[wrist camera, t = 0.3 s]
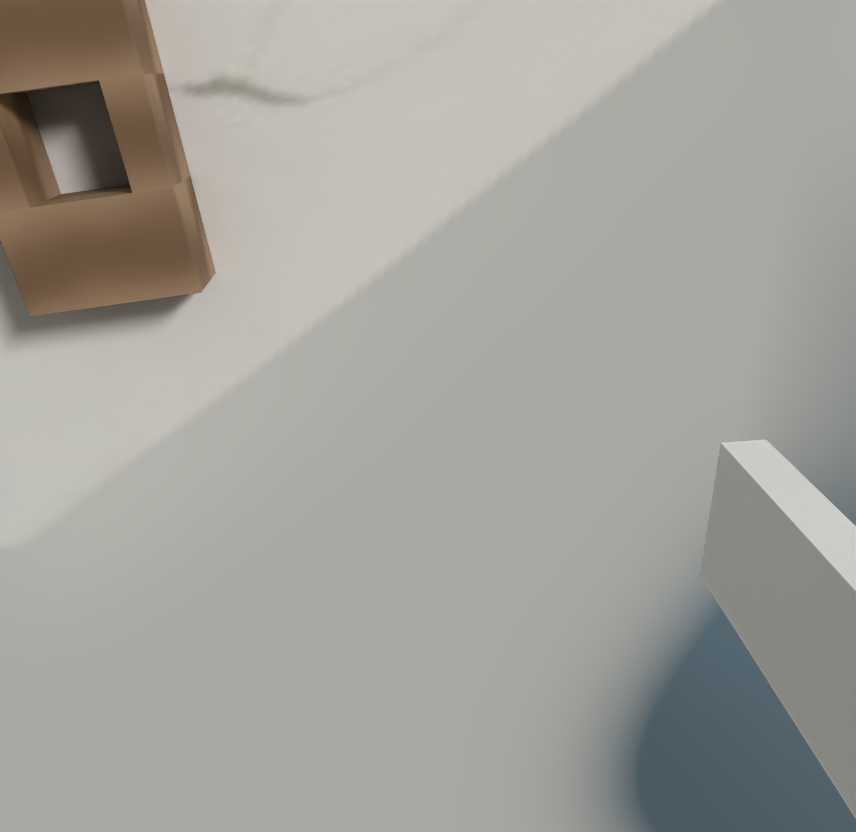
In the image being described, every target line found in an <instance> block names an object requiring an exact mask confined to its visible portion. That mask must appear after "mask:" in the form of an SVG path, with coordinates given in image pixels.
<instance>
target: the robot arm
mask: <svg viewBox="0 0 856 832" xmlns="http://www.w3.org/2000/svg"><path fill="white" fill-rule="evenodd" d="M700 575H701V577H702V579H703V580H704V582H705V583H706V585H707V586H708V588H709V589H710V591H711V592H712V594H713V596H714V597H715V599H716V600H717V602H718V604H719V605H720V607H721V608H722V610H723V611H724V613H725V615H726V616H727V618H728V619H729V621H730V622H731V624H732V625H733V627H734V629H735V630H736V632H737V633H738V635H739V637H740V638H741V640H742V641H743V643H744V644H745V646H746V647H747V649H748V651H749V652H750V654H751V655H752V657H753V658H754V660H755V661H756V663H757V665H758V666H759V668H760V669H761V671H762V673H763V674H764V676H765V677H766V679H767V680H768V682H769V684H770V685H771V687H772V688H773V690H774V691H775V693H776V695H777V696H778V698H779V699H780V701H781V702H782V704H783V706H784V707H785V709H786V710H787V712H788V713H789V715H790V716H791V718H792V720H793V721H794V723H795V724H796V726H797V727H798V729H799V731H800V732H801V734H802V735H803V737H804V738H805V740H806V742H807V743H808V745H809V746H810V748H811V749H812V751H813V753H814V754H815V756H816V757H817V759H818V760H819V762H820V764H821V765H822V767H823V768H824V770H825V771H826V773H827V775H828V776H829V778H830V779H831V781H832V782H833V784H834V786H835V787H836V788H837V790H838V792H839V793H840V795H841V796H842V798H843V800H844V801H845V803H846V804H847V806H848V808H849V809H850V810H851V812H852V814H853V815H854V817H855V818H856V526H855V525H854V524H853V523H852V522H850V520H849V519H847V518H846V517H845V516H844V515H843V514H842V513H841V512H840V511H839V510H838V509H837V508H836V507H835V506H834V505H833V504H832V503H831V502H830V501H829V500H828V499H827V498H826V497H825V496H823V494H822V493H820V491H818V490H817V489H816V488H815V487H814V486H813V485H812V484H811V483H810V482H809V481H808V480H807V479H806V478H805V477H804V476H803V475H802V474H801V473H800V472H799V471H798V470H797V469H796V468H795V467H794V466H793V465H792V464H791V463H790V462H789V461H787V460H786V459H785V458H784V457H783V456H782V455H781V454H780V453H779V452H778V451H777V450H776V449H775V448H774V447H773V446H772V445H771V444H770V443H769V442H768V441H767V440H755V441H740V442H727V443H721V447H720V452H719V458H718V465H717V471H716V478H715V484H714V490H713V497H712V502H711V509H710V515H709V521H708V528H707V534H706V540H705V547H704V553H703V559H702V565H701V572H700Z"/></svg>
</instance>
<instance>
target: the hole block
mask: <svg viewBox="0 0 856 832" xmlns="http://www.w3.org/2000/svg"><path fill="white" fill-rule="evenodd" d="M96 82H100V86H101V89H102V92H103V96H104V99H105V102H106V106H107V109H108V112H109V116H110V119H111V123H112V126H113V129H114V133H115V136H116V139H117V143H118V146H119V149H120V153H121V156H122V159H123V163H124V166H125V170H126V173H127V176H128V180H129V183H130V185H124V186H117V187H110V188H103V189H96V190H89V191H82V192H74V193H67V194H60V191H59V188H58V185H57V182H56V179H55V176H54V173H53V170H52V167H51V164H50V161H49V158H48V156H47V153H46V150H45V147H44V144H43V141H42V138H41V135H40V132H39V129H38V126H37V123H36V120H35V117H34V115H33V112H32V109H31V106H30V103H29V100H28V97H27V94H26V92H32V91H39V90H46V89H53V88H61V87H68V86H75V85H82V84H89V83H96ZM0 241H1V243H2V246H3V248H4V251H5V253H6V256H7V259H8V261H9V264H10V266H11V269H12V272H13V274H14V277H15V279H16V282H17V284H18V287H19V290H20V292H21V295H22V297H23V300H24V302H25V305H26V308H27V310H28V313H29V315H30V317H31V316H38V315H45V314H53V313H60V312H67V311H74V310H81V309H88V308H95V307H102V306H109V305H116V304H123V303H130V302H137V301H144V300H151V299H158V298H165V297H172V296H179V295H186V294H194V293H201V292H202V290H203V289H204V288H205V286H206V285H207V284H208V282H209V281H210V280H211V278H212V277H213V276H214V274H215V269H214V265H213V261H212V257H211V254H210V250H209V246H208V242H207V238H206V234H205V231H204V227H203V223H202V219H201V215H200V211H199V208H198V204H197V200H196V196H195V192H194V188H193V185H192V181H191V177H190V173H189V169H188V165H187V161H186V158H185V154H184V150H183V146H182V142H181V138H180V135H179V131H178V127H177V123H176V119H175V115H174V112H173V108H172V104H171V100H170V96H169V92H168V89H167V85H166V81H165V77H164V73H163V69H162V66H161V62H160V58H159V54H158V50H157V46H156V43H155V39H154V35H153V31H152V27H151V23H150V20H149V16H148V12H147V8H146V4H145V0H0Z"/></svg>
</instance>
